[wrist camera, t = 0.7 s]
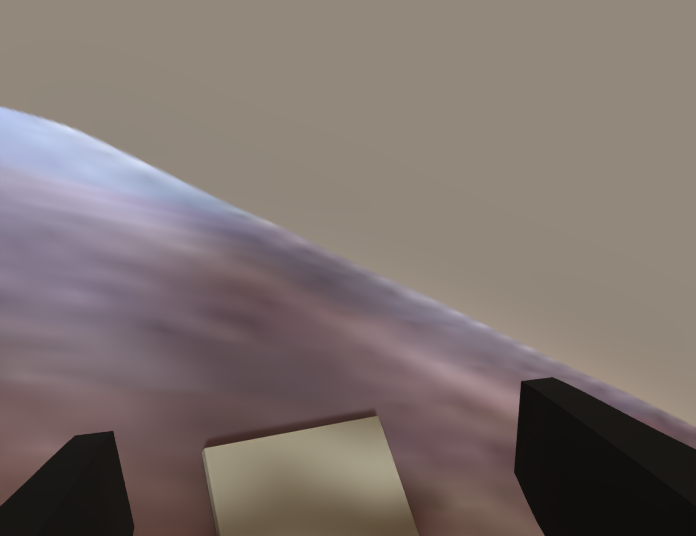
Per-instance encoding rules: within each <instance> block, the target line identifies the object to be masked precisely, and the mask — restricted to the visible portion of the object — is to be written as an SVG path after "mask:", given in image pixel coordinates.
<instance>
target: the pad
mask: <svg viewBox="0 0 696 536" xmlns="http://www.w3.org/2000/svg"><path fill="white" fill-rule="evenodd" d="M202 457H203V462H204V468H205V473H206V479H207V485H208V490H209V496H210V501H211V507H212V512H213V518H214V523H215V529H216V534H217V536H419V534H418V531H417V528H416V525H415V522H414V519H413V516H412V513H411V510H410V507H409V504H408V502H407V499H406V496H405V493H404V490H403V487H402V484H401V481H400V478H399V475H398V472H397V469H396V467H395V464H394V461H393V458H392V455H391V452H390V449H389V446H388V443H387V440H386V437H385V434H384V431H383V429H382V426H381V423H380V420H379V417H378V416H374V417H369V418H363V419H358V420H353V421H347V422H342V423H337V424H332V425H326V426H321V427H316V428H310V429H305V430H300V431H294V432H289V433H284V434H278V435H273V436H268V437H262V438H257V439H252V440H247V441H241V442H236V443H231V444H225V445H220V446H215V447H209V448H204V450H203V451H202Z"/></svg>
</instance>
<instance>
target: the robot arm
mask: <svg viewBox="0 0 696 536" xmlns="http://www.w3.org/2000/svg"><path fill="white" fill-rule="evenodd" d="M514 473H515V475H516V477H517V479H518V482H519V484H520V486H521V489H522V491H523V493H524V495H525V498H526V500H527V502H528V504H529V506H530V508H531V511H532V513H533V515H534V517H535V519H536V521H537V523H538V525H539V526H540V528H541V530H542V531H543V533H544V535H545V536H696V449H694V448H692V447H690V446H688V445H686V444H684V443H682V442H679V441H677V440H675V439H673V438H671V437H669V436H667V435H665V434H663V433H661V432H659V431H657V430H655V429H654V428H652V427H650V426H648V425H646V424H644V423H642V422H640V421H638V420H636V419H634V418H632V417H630V416H629V415H627V414H625V413H623V412H621V411H619V410H617V409H615V408H613V407H611V406H610V405H608V404H606V403H604V402H602V401H600V400H598V399H596V398H594V397H592V396H591V395H589V394H587V393H585V392H583V391H581V390H579V389H577V388H575V387H573V386H571V385H569V384H567V383H564V382H562V381H560V380H558V379H555V378H553V377H551V378H543V379H535V380H527V381H521V391H520V404H519V417H518V429H517V442H516V455H515V468H514ZM133 532H134V523H133V518H132V514H131V509H130V505H129V500H128V496H127V491H126V487H125V482H124V478H123V473H122V469H121V464H120V460H119V455H118V451H117V446H116V442H115V437H114V433H113V431H109V432H101V433H93V434H84V435H76V436H74V437H73V438H72V439H71V440H70V441H69V442H67V443H66V444H65V445H64V446H63V447H62V448H61V449H60V450H59V451H58V452H57V453H56V454H55V455H53V456H52V457H51V458H50V459H49V460H48V461H47V462H46V463H45V464H44V465H43V466H42V467H41V468H40V469H39V470H38V471H37V472H36V473H35V474H34V475H33V476H32V477H31V478H30V479H29V480H28V481H27V482H26V483H25V484H24V485H23V486H21V487H20V488H19V489H18V490H17V491H16V492H15V493H14V494H13V495H12V496H11V497H10V498H9V499H8V500H7V501H6V502H5V503H3V504H2V505H1V506H0V536H133Z"/></svg>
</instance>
